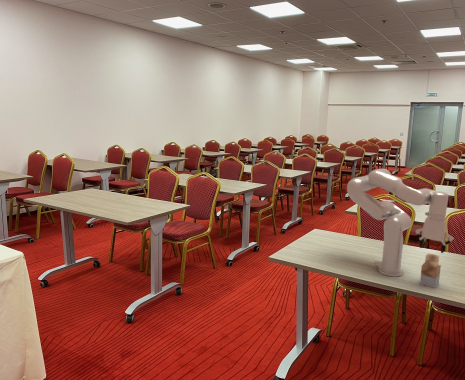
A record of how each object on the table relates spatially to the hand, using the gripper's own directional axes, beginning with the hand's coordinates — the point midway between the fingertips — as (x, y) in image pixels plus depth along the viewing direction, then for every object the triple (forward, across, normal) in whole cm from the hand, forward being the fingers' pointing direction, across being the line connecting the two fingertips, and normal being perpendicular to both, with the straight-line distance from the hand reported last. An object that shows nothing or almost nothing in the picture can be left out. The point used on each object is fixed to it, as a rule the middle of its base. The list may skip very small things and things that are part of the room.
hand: (431, 249), depth 195 cm
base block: (+18, +1, 0) cm, 18 cm away
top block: (+13, +1, 0) cm, 13 cm away
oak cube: (+8, +1, 0) cm, 8 cm away
